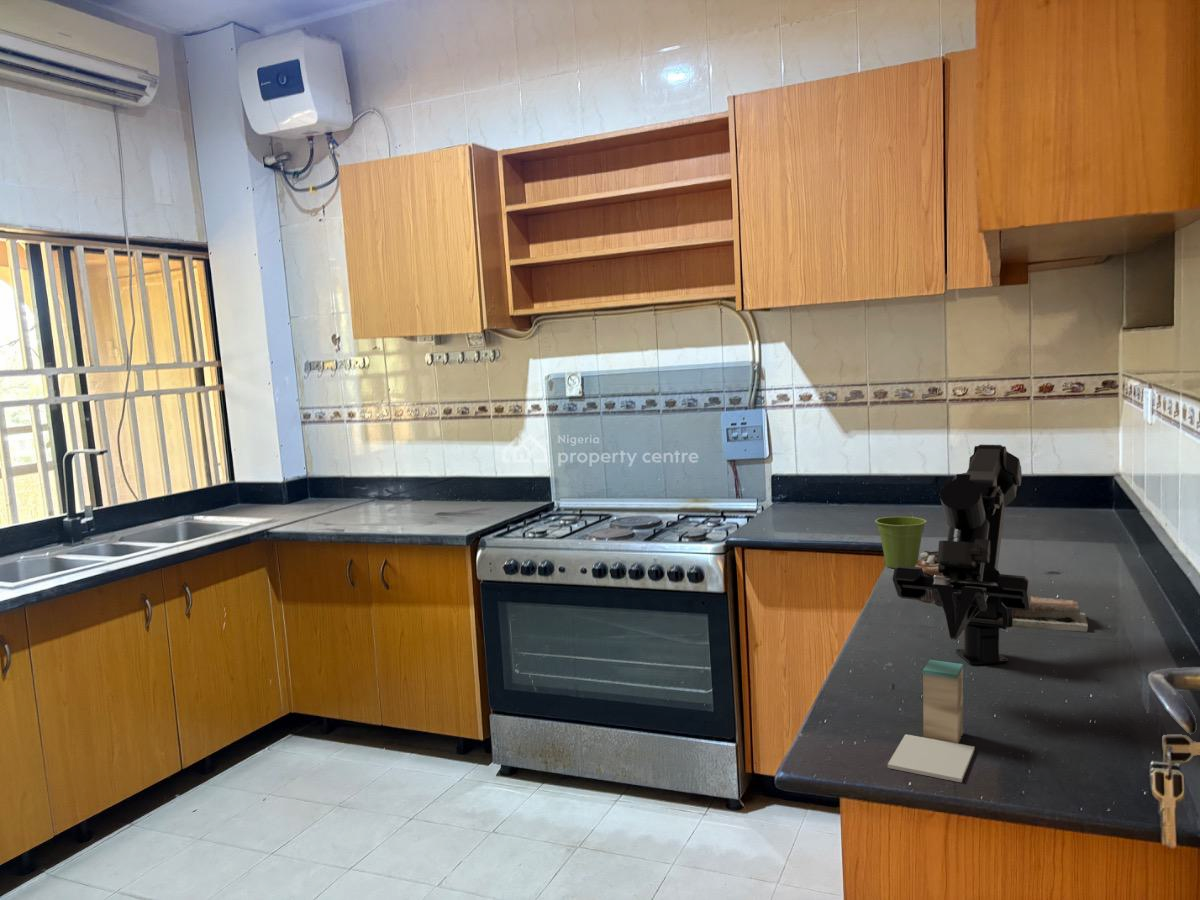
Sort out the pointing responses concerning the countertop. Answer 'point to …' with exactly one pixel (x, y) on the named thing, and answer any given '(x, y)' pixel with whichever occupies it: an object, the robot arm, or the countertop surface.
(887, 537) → the plant pot
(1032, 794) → the countertop surface
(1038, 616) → the stepped brick
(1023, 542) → the countertop surface
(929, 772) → the mat
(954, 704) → the block
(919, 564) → the cupcake
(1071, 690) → the countertop surface
